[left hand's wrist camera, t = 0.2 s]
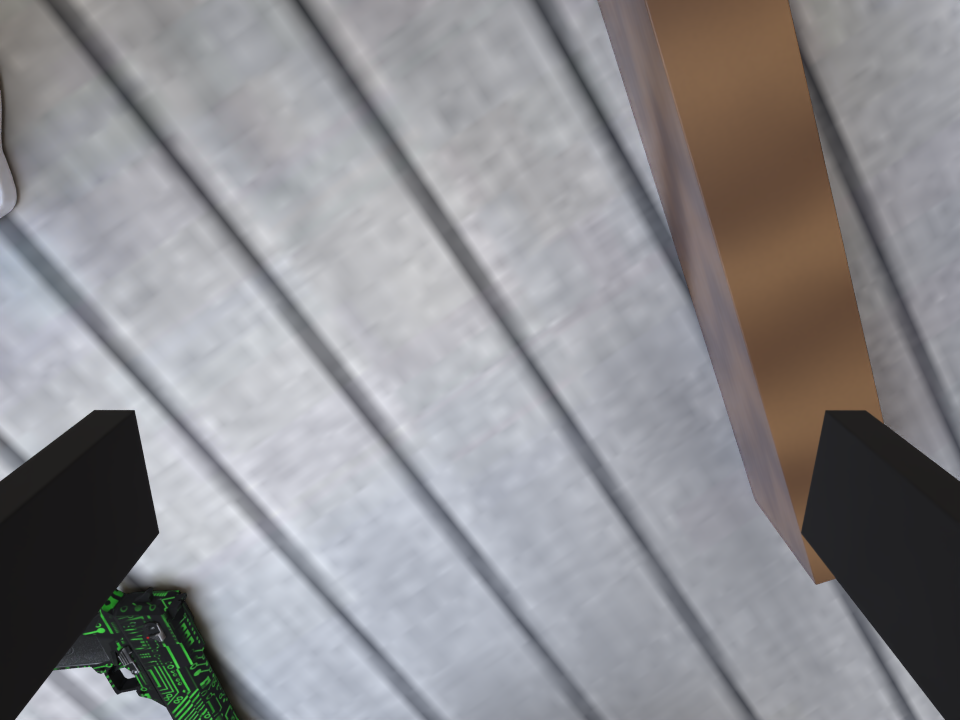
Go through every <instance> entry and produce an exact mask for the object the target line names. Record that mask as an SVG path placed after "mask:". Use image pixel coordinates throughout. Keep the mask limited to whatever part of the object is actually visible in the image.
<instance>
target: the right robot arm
mask: <svg viewBox="0 0 960 720" xmlns="http://www.w3.org/2000/svg"><path fill="white" fill-rule="evenodd" d="M1 125H2V102H1V92H0V218H2V217H3V216H5V215H6V214H8V213H9V212H10V211H11V210H12V209H13V208H14V207H15V204H16V201H17V193H16V188H15V184H14V180H13V177H12V174H11V171H10V168H9V166H8V163H7V160H6V158H5V155H4V153H3V149H2V139H1Z"/></svg>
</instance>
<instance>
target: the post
mask: <svg viewBox="0 0 960 720" xmlns="http://www.w3.org/2000/svg"><path fill="white" fill-rule="evenodd" d="M598 3H599V6H600V9H601V13H602V16H603V19H604V22H605V25H606V28H607V32H608V35H609V38H610V41H611V44H612V47H613V51H614V54H615V57H616V60H617V63H618V67H619V70H620V73H621V76H622V79H623V82H624V86H625V89H626V92H627V95H628V98H629V101H630V105H631V108H632V111H633V114H634V117H635V120H636V124H637V127H638V130H639V133H640V136H641V140H642V143H643V146H644V149H645V152H646V155H647V159H648V162H649V165H650V168H651V171H652V174H653V178H654V181H655V184H656V187H657V190H658V193H659V197H660V200H661V203H662V206H663V209H664V213H665V216H666V219H667V222H668V225H669V228H670V232H671V235H672V238H673V241H674V244H675V247H676V251H677V254H678V257H679V260H680V263H681V266H682V270H683V273H684V276H685V279H686V282H687V285H688V289H689V292H690V295H691V298H692V301H693V305H694V308H695V311H696V314H697V317H698V320H699V324H700V327H701V330H702V333H703V336H704V339H705V343H706V346H707V349H708V352H709V355H710V358H711V362H712V365H713V368H714V371H715V374H716V378H717V381H718V384H719V387H720V390H721V393H722V397H723V400H724V403H725V406H726V409H727V412H728V416H729V419H730V422H731V425H732V428H733V431H734V435H735V438H736V441H737V444H738V447H739V451H740V454H741V457H742V460H743V463H744V466H745V470H746V473H747V476H748V479H749V482H750V485H751V489H752V492H753V495H754V498H755V501H756V502H757V504H758V505H759V506H760V508H761V509H762V511H763V512H764V513H765V515H766V516H767V518H768V519H769V520H770V522H771V523H772V524H773V526H774V527H775V529H776V530H777V531H778V533H779V534H780V536H781V537H782V538H783V540H784V541H785V543H786V544H787V545H788V547H789V548H790V549H791V551H792V552H793V554H794V555H795V556H796V558H797V559H798V561H799V562H800V563H801V565H802V566H803V567H804V569H805V570H806V572H807V573H808V574H809V576H810V577H811V579H812V580H813V581H814V583H815V584H816V585H817V584H820V583H823V582H826V581H830V580H833V579H836V578H835V577H834V575H833V574H832V573H831V571H830V570H829V569H828V568H827V566H826V565H825V564H824V562H823V561H822V560H821V559H820V557H819V556H818V555H817V553H816V552H815V551H814V549H813V548H812V547H811V546H810V544H809V543H808V542H807V540H806V539H805V538H804V537H803V535H802V534H801V530H802V525H803V520H804V515H805V510H806V505H807V500H808V495H809V490H810V485H811V480H812V475H813V470H814V465H815V460H816V455H817V450H818V445H819V440H820V435H821V430H822V425H823V420H824V415H825V410H866V411H867V412H869V413H870V414H871V415H873V416H874V417H875V418H877V419H878V420H879V421H881V422H882V423H883V424H884V422H883V418H882V413H881V409H880V404H879V400H878V395H877V391H876V387H875V382H874V378H873V373H872V369H871V364H870V360H869V356H868V351H867V347H866V342H865V338H864V334H863V329H862V325H861V320H860V316H859V311H858V307H857V303H856V298H855V294H854V289H853V285H852V280H851V276H850V272H849V267H848V263H847V258H846V254H845V250H844V245H843V241H842V236H841V232H840V227H839V223H838V219H837V214H836V210H835V205H834V201H833V196H832V192H831V188H830V183H829V179H828V174H827V170H826V166H825V161H824V157H823V152H822V148H821V143H820V139H819V135H818V130H817V126H816V121H815V117H814V112H813V108H812V104H811V99H810V95H809V90H808V86H807V82H806V77H805V73H804V68H803V64H802V59H801V55H800V51H799V46H798V42H797V37H796V33H795V28H794V24H793V20H792V15H791V11H790V6H789V2H788V0H598Z"/></svg>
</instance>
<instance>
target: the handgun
mask: <svg viewBox="0 0 960 720" xmlns="http://www.w3.org/2000/svg"><path fill="white" fill-rule="evenodd" d="M186 596H187V594H186V593H183V594H181V593H180V591H179V590H174V591H153V588H151V587H149V588H148V589H147V591H146V592H134V593H130V594H125V593H123V592H121V591H119V590H117V589H116V590H115V591H114V592H113V593H112V595H111V596H110V597H109V599H108V600H107V601H106V603H105V604H104V605H103V606H102V608H101V609H100V610H99V612H98V613H97V614H96V615H95V617H94V618H93V619H92V621H91V622H90V623H89V625H88V626H87V627H86V628H85V630H84V631H83V632H82V634H81V635H80V636H79V637H78V639H77V640H76V641H75V643H74V644H73V645H72V647H71V648H70V649H69V650H68V652H67V653H66V654H65V656H64V657H63V658H62V659H61V661H60V662H59V663H58V665H57V666H56V667H55V669H54V670H61V669H71V668H81V667H92V668H93V669H94V670H95V671H96V672H97V673H100V674H102V673H104V674H105V676H106V678H107V679H108V681H109V683H110V684H111V686H112V688H113V689H114V691H115V693H116V694H117V695H118V694H120V693H122V692H127V691H132V690H137V691H136V692H137V693H138V695H139V696H141V697H145V698H149V699H152V700H154V701H156V702H158V703H160V704H161V705H163V706H165V707H166V708H167V710H168V711H169V713H170V715H171V717H172V718H173V720H239V719H238V717H237V715H236V713H235V711H234V709H233V707H232V705H231V704H230V702H229V700H228V698H227V696H226V694H225V692H224V690H223V688H222V686H221V684H220V682H219V680H218V678H217V677H216V675H215V673H214V671H213V669H212V667H211V665H210V664H209V662H208V660H207V658H206V656H205V654H204V653H203V649H204V645H205V642H204V640H203V639H202V637H201V635H200V633H199V631H198V629H197V628H196V626H195V624H194V617H193V615H192V613H191V612H190V610H189V608H188V606H187V604H186V602H185V598H186ZM124 667H125V668H127V669H128V670H130V671H131V672H132V674H134V675H135V678H130V679H127V678H125V677H124V675H123V674H122V672H121V671H120V668H124Z"/></svg>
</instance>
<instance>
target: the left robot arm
mask: <svg viewBox="0 0 960 720" xmlns="http://www.w3.org/2000/svg"><path fill="white" fill-rule="evenodd" d="M158 534H159V530H158V525H157V520H156V515H155V510H154V505H153V500H152V495H151V490H150V485H149V480H148V475H147V470H146V465H145V460H144V455H143V450H142V445H141V440H140V435H139V430H138V425H137V420H136V415H135V410H94V411H93V412H91V413H90V414H89V415H87V416H86V417H85V418H83V419H82V420H81V421H79V422H78V423H77V424H75V425H74V426H73V427H71V428H70V429H69V430H68V431H66V432H65V433H64V434H62V435H61V436H60V437H58V438H57V439H56V440H54V441H53V442H52V443H50V444H49V445H48V446H46V447H45V448H44V449H42V450H41V451H40V452H38V453H37V454H36V455H35V456H33V457H32V458H31V459H29V460H28V461H27V462H25V463H24V464H23V465H21V466H20V467H19V468H17V469H16V470H15V471H13V472H12V473H11V474H9V475H8V476H7V477H5V478H4V479H3V480H2V481H0V720H15V719H16V718H17V716H18V715H19V714H20V713H21V711H22V710H23V709H24V707H25V706H26V705H27V703H28V702H29V701H30V700H31V698H32V697H33V696H34V694H35V693H36V692H37V691H38V689H39V688H40V687H41V685H42V684H43V683H44V681H45V680H46V679H47V678H48V676H49V675H50V674H51V672H52V671H53V670H54V669H55V667H56V666H57V665H58V663H59V662H60V661H61V659H62V658H63V657H64V656H65V654H66V653H67V652H68V650H69V649H70V648H71V647H72V645H73V644H74V643H75V641H76V640H77V639H78V637H79V636H80V635H81V634H82V632H83V631H84V630H85V628H86V627H87V626H88V625H89V623H90V622H91V621H92V619H93V618H94V617H95V615H96V614H97V613H98V612H99V610H100V609H101V608H102V606H103V605H104V604H105V603H106V601H107V600H108V599H109V597H110V596H111V595H112V593H113V592H114V591H115V590H116V588H117V587H118V586H119V584H120V583H121V582H122V581H123V579H124V578H125V577H126V575H127V574H128V573H129V571H130V570H131V569H132V568H133V566H134V565H135V564H136V562H137V561H138V560H139V559H140V557H141V556H142V555H143V553H144V552H145V551H146V549H147V548H148V547H149V546H150V544H151V543H152V542H153V540H154V539H155V538H156V537H157V535H158ZM801 534H802V535H803V537H804V538H805V539H806V540H807V542H808V543H809V544H810V546H811V547H812V548H813V549H814V551H815V552H816V553H817V555H818V556H819V557H820V559H821V560H822V561H823V562H824V564H825V565H826V566H827V568H828V569H829V570H830V571H831V573H832V574H833V575H834V577H835V578H836V579H837V581H838V582H839V583H840V584H841V586H842V587H843V588H844V590H845V591H846V592H847V593H848V595H849V596H850V597H851V599H852V600H853V601H854V603H855V604H856V605H857V606H858V608H859V609H860V610H861V612H862V613H863V614H864V615H865V617H866V618H867V619H868V621H869V622H870V623H871V625H872V626H873V627H874V628H875V630H876V631H877V632H878V634H879V635H880V636H881V637H882V639H883V640H884V641H885V643H886V644H887V645H888V647H889V648H890V649H891V650H892V652H893V653H894V654H895V656H896V657H897V658H898V659H899V661H900V662H901V663H902V665H903V666H904V667H905V669H906V670H907V671H908V672H909V674H910V675H911V676H912V678H913V679H914V680H915V681H916V683H917V684H918V685H919V687H920V688H921V689H922V691H923V692H924V693H925V694H926V696H927V697H928V698H929V700H930V701H931V702H932V703H933V705H934V706H935V707H936V709H937V710H938V711H939V713H940V714H941V715H942V716H943V718H944V719H945V720H960V481H958V480H957V479H956V478H955V477H953V476H952V475H951V474H949V473H948V472H947V471H945V470H944V469H943V468H941V467H940V466H939V465H937V464H936V463H935V462H933V461H932V460H931V459H929V458H928V457H927V456H925V455H924V454H923V453H922V452H920V451H919V450H918V449H916V448H915V447H914V446H912V445H911V444H910V443H908V442H907V441H906V440H904V439H903V438H902V437H900V436H899V435H898V434H896V433H895V432H894V431H892V430H891V429H890V428H889V427H887V426H886V425H885V424H883V423H882V422H881V421H879V420H878V419H877V418H875V417H874V416H873V415H871V414H870V413H869V412H867V411H866V410H825V415H824V420H823V425H822V430H821V435H820V440H819V445H818V450H817V455H816V460H815V465H814V470H813V475H812V480H811V485H810V490H809V495H808V500H807V505H806V510H805V515H804V520H803V525H802V530H801Z"/></svg>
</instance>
